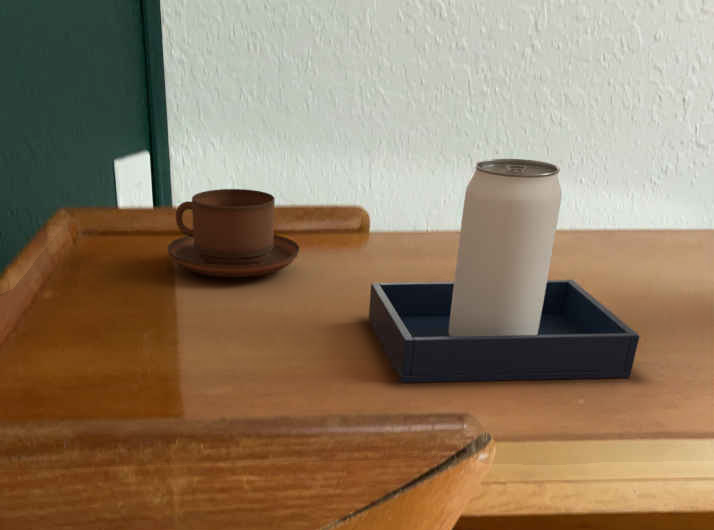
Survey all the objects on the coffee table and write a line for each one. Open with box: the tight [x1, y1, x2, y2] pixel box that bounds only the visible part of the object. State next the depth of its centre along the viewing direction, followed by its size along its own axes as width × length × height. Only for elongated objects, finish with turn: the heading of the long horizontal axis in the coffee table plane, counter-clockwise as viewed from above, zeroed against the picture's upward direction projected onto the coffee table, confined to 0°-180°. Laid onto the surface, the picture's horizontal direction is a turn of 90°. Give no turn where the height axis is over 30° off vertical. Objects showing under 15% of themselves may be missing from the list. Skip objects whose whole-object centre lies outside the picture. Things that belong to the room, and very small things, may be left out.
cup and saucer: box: [167, 188, 300, 278], centre depth 87 cm, size 12×12×6 cm
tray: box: [368, 279, 640, 384], centre depth 71 cm, size 16×13×3 cm
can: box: [449, 158, 562, 337], centre depth 68 cm, size 6×6×12 cm
